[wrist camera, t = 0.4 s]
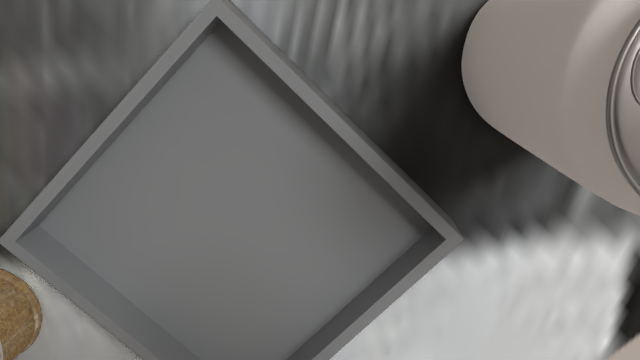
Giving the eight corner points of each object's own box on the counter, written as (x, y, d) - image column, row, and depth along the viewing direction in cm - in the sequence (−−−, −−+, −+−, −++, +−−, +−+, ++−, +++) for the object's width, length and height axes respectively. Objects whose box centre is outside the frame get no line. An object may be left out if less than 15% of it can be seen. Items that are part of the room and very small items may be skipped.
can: (499, -53, 22) (689, -135, 10) (651, 9, 22) (991, -5, 11) (432, 106, 24) (531, 188, 12) (575, 160, 24) (801, 288, 13)
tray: (248, 401, 27) (240, 438, 25) (29, 220, 25) (-3, 241, 23) (451, 218, 25) (464, 239, 22) (227, -3, 23) (215, -5, 20)
